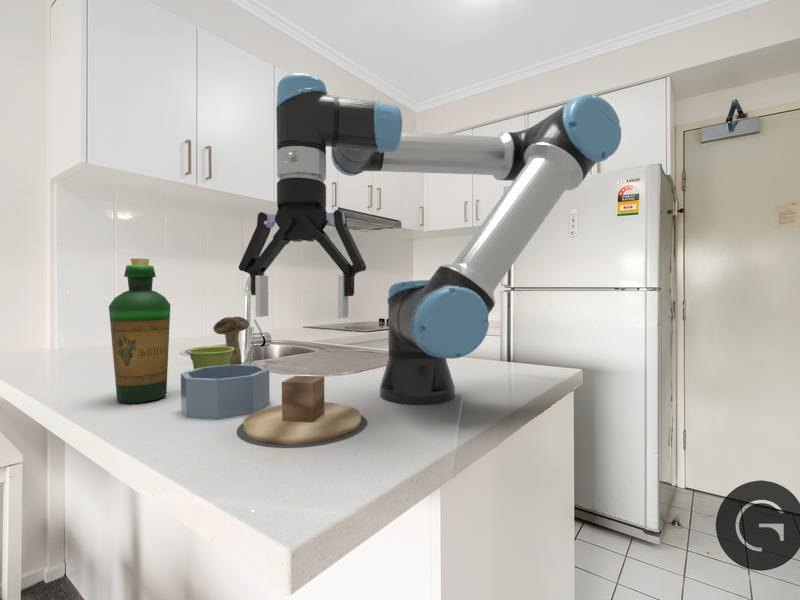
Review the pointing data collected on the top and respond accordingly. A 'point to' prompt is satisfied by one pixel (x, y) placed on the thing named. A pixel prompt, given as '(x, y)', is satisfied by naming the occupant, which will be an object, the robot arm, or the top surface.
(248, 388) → the bowl
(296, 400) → the lid
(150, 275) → the bottle
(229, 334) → the mushroom
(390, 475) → the top surface
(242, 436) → the mat
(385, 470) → the top surface
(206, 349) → the plant pot
